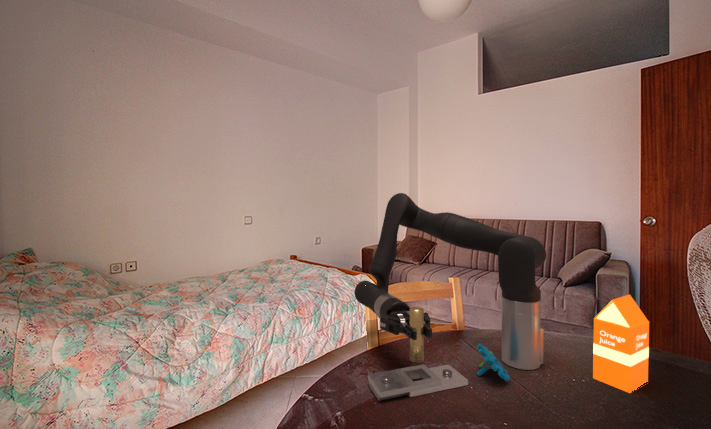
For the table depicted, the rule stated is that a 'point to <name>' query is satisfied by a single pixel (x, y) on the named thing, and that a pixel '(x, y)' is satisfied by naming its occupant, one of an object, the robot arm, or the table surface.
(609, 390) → the table surface
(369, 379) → the bolted metal plate
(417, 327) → the brass pin
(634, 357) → the orange juice
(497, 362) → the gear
